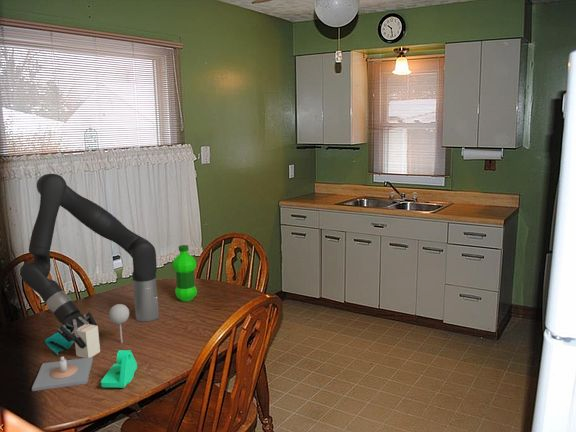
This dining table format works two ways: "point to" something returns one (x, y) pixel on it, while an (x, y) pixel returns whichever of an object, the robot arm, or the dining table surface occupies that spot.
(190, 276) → the plastic bottle
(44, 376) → the base
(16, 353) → the dining table surface
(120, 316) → the lollipop
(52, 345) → the cloth
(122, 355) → the camera mount
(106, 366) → the dining table surface
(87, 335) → the striped cream block
